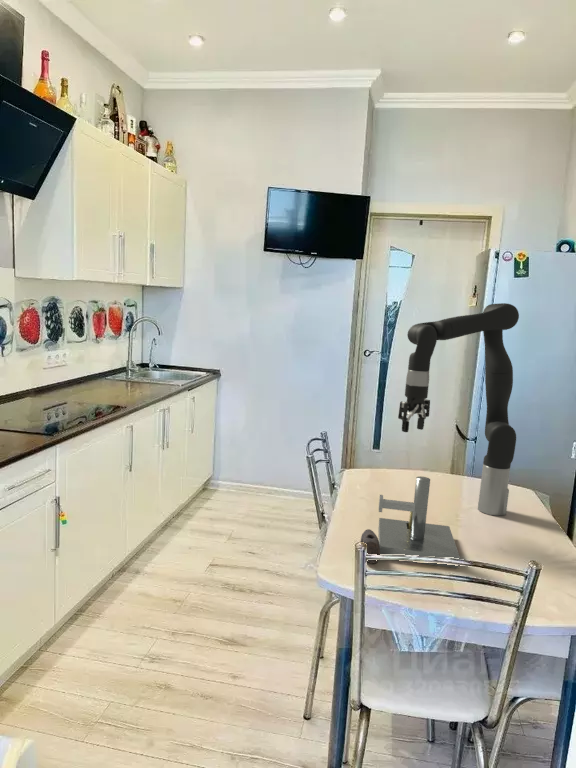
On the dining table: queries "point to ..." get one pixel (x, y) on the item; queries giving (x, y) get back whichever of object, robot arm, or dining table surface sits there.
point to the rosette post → (415, 529)
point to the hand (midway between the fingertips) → (412, 430)
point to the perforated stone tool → (371, 543)
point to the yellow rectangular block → (410, 520)
